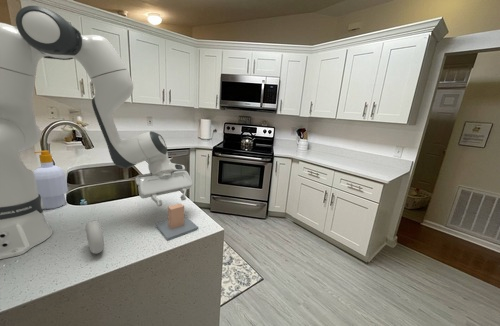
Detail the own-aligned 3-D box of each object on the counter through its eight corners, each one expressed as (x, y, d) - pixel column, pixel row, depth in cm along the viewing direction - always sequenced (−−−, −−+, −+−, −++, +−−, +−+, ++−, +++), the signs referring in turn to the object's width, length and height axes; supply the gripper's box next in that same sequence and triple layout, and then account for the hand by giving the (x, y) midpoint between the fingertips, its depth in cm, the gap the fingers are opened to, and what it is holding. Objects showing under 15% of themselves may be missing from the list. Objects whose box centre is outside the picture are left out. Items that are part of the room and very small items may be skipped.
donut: (87, 245, 67) (83, 217, 65) (100, 241, 70) (96, 214, 67) (92, 262, 60) (88, 231, 58) (106, 257, 63) (103, 227, 60)
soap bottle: (33, 206, 88) (21, 150, 82) (63, 198, 97) (55, 147, 91) (43, 213, 84) (32, 154, 78) (74, 204, 92) (66, 151, 87)
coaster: (167, 240, 72) (167, 238, 72) (155, 225, 81) (154, 223, 80) (198, 229, 80) (198, 227, 80) (184, 216, 89) (184, 214, 88)
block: (171, 229, 77) (171, 209, 75) (168, 225, 80) (167, 206, 78) (184, 224, 81) (184, 206, 79) (180, 221, 83) (180, 203, 81)
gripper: (135, 171, 75) (145, 206, 71) (187, 164, 89) (198, 193, 85) (132, 179, 79) (141, 212, 75) (183, 172, 93) (193, 199, 89)
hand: (172, 202), depth 80 cm, fingers open, 8 cm apart
